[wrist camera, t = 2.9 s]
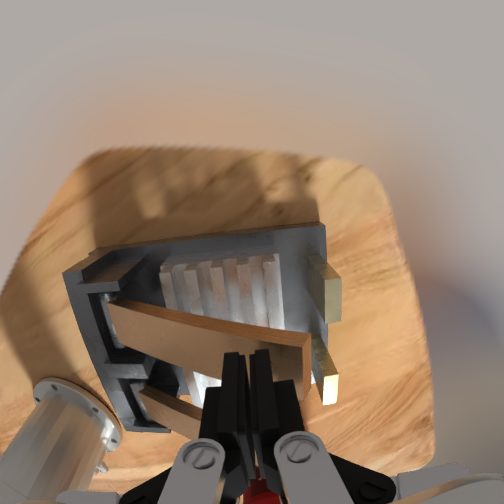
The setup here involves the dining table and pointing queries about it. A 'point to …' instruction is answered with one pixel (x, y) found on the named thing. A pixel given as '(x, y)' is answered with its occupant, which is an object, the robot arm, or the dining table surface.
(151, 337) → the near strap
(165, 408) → the strap
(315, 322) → the heatsink block
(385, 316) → the dining table surface
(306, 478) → the robot arm
